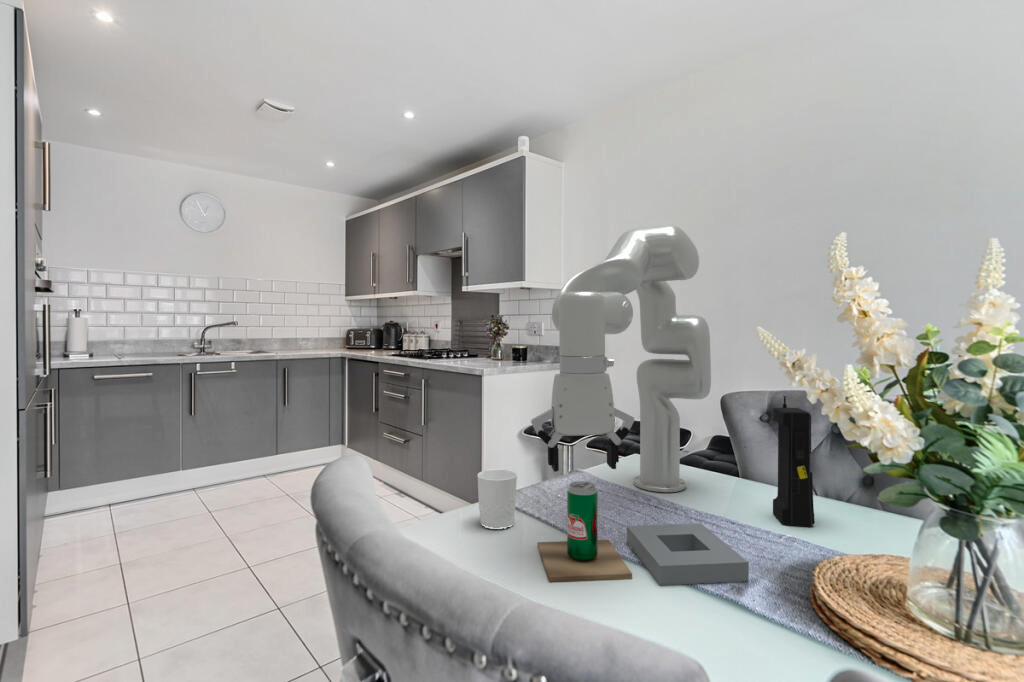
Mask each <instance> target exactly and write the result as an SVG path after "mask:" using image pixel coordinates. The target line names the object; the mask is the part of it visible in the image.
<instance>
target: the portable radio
mask: <svg viewBox="0 0 1024 682" xmlns="http://www.w3.org/2000/svg"><path fill="white" fill-rule="evenodd" d="M786 397H787V395H783V403H782V407H774V408H773V420H772V421H774V422H776V423H777V425H778V427H777V428H778V429H777V435H778V436H777V437H778V438H777V496H776V498H772V514H773V516H774V517H775V518H776V519H777V520H778V521H779V523H780V524H781V525H786V526H793V527H804V528H805V527H808V528H811V527H813V525H815V522H816V521H815V510H814V489H813V488H814V487H813V485H814V484H813V472H811V454H812V415H811V413H810V412H809V411H806V410H804V409H801V408H799V407H788V405H787V403H786V401H787V400H786Z"/></svg>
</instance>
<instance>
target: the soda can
mask: <svg viewBox="0 0 1024 682" xmlns="http://www.w3.org/2000/svg"><path fill="white" fill-rule="evenodd" d="M596 487H597V486H596V484H595V483H593V482H590V481H580V480H579V481H572V482H570V483H569V485H568V489H567V490H566V494H567V495H566V497H567V498H566V541H567V554H568V555H569V556H570V557H571V558H572V559H573V560H576V561H581V562H587V561H591V560H593V559H595V558H596V556H597V555H598V540H599V536H598V535H599V533H598V530H599V529H598V528H599V527H598V526H599V523H598V521H599V520H598V519H599V514H598V513H599V504H598V503H599V502H598V501H599V493H598V490H597V488H596Z"/></svg>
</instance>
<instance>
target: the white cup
mask: <svg viewBox="0 0 1024 682" xmlns="http://www.w3.org/2000/svg"><path fill="white" fill-rule="evenodd" d="M517 481H518V474H517V472H515V471H513V470H509V469H500V468H495V469H493V468H492V469H487V470H482V471H479V472H478V473H477V493H478V495H477V496H478V497H477V499H478V510H479V523H480V522H481V524H483V525H485V526H488V527H493V528H500V527H507V526H510V525H512V524H513V523H514V524H515V514H516V513H515V512H516V502H517V485H518V483H517ZM481 524H480V525H481ZM514 524H513V525H514Z"/></svg>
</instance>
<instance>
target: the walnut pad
mask: <svg viewBox="0 0 1024 682" xmlns="http://www.w3.org/2000/svg"><path fill="white" fill-rule="evenodd" d="M537 549H539V550H538V552H540V553H539V556H540V555H541V556H540V559H541V562H542V563H543V567H544V571H545V574H546V577H547V580H548V582H549V583H561V582H562V583H565V582H567V583H568V582H585V581H587V582H588V581H608V580H609V581H610V580H632V579H633V573H632V571H631V570H630V568H629V567H628V565H627V564H626V563H625V561H624V560H623V558H622V556H621V555H620V554H619V552H618V550H616V548H615V547H614V545H613V544H612V542H611V541H610V539H598V555H597V556H596V558H595V559H593V560H591V561H587V562H581V561H576V560H573V559H572V558H571V557H570V556H569V555H568V554H567V540H566V541H565V540H563V541H561V540H560V541H537Z"/></svg>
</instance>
